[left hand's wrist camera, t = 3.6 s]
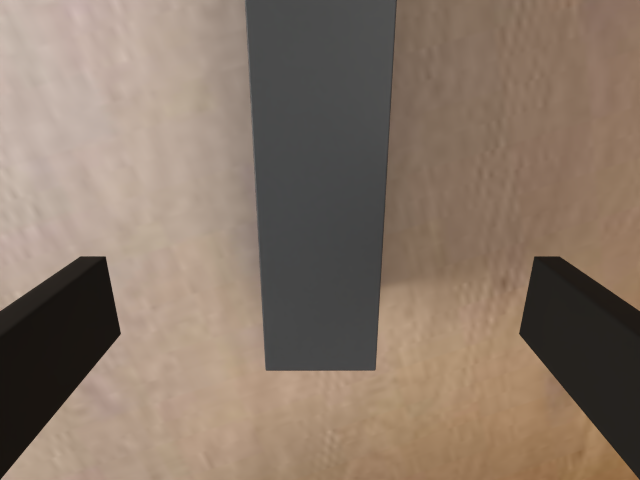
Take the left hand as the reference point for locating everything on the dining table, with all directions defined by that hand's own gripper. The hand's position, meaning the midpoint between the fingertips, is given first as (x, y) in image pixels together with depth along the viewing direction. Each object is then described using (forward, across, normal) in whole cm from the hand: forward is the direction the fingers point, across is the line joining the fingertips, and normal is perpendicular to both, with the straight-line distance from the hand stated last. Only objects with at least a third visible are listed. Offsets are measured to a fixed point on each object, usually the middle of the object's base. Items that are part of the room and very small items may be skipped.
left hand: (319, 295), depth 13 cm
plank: (+14, 0, -19) cm, 23 cm away
